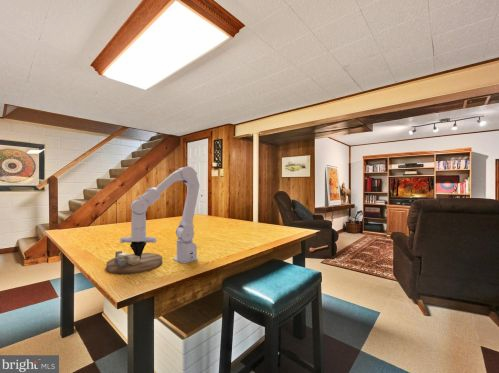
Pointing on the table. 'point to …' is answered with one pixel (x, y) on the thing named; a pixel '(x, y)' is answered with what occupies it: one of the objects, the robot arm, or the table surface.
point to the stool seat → (146, 263)
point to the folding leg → (128, 257)
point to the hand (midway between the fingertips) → (138, 259)
